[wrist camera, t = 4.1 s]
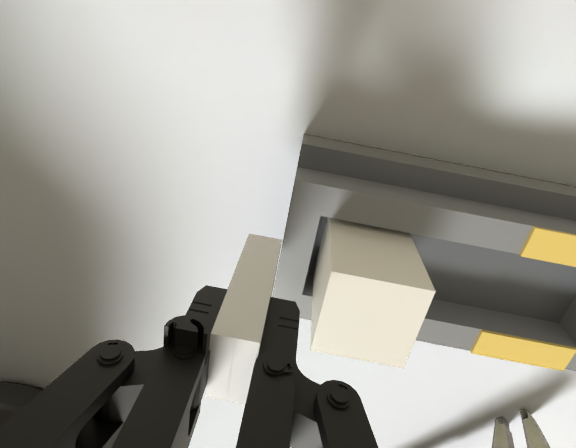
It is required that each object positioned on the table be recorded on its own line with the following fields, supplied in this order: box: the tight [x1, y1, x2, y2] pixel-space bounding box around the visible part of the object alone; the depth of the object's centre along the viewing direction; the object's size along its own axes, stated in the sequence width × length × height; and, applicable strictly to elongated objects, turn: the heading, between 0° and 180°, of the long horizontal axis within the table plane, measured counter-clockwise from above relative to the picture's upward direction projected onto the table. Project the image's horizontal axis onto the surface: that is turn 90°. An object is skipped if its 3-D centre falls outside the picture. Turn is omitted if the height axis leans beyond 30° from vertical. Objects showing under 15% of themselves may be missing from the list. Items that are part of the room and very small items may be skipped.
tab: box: [310, 217, 436, 368], centre depth 18 cm, size 4×4×6 cm
